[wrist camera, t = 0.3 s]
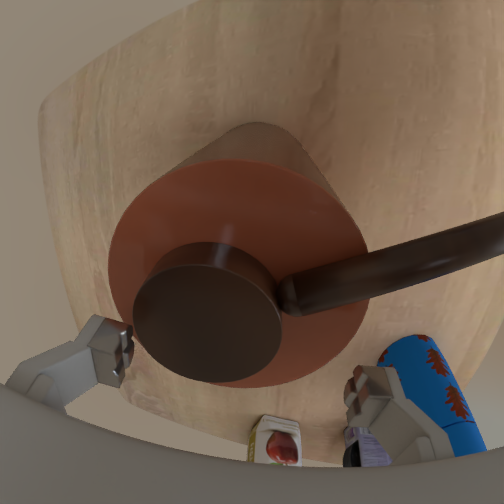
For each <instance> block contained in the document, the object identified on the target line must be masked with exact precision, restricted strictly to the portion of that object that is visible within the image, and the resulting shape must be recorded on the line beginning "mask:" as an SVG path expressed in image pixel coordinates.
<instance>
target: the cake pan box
mask: <svg viewBox="0 0 504 504" xmlns="http://www.w3.org/2000/svg"><path fill="white" fill-rule="evenodd" d="M344 437H345V446H346V450H345V453H344V456H343V467H374V466H388V465H389V464H390V463H391V462H392V461H393V460H392V459H391V458H390V456H389V455H388V454H387V453H386V451H385V450H384V449H383V447H382V446H381V445H380V443H379V442H378V441H377V439H376V438H375V437H374V435H373V434H372V433H371V432H370V430H369V429H368V428H367V427H347V428H346V429H345V430H344Z"/></svg>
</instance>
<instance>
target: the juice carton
mask: <svg viewBox="0 0 504 504" xmlns="http://www.w3.org/2000/svg"><path fill="white" fill-rule="evenodd" d="M246 461H247V462H255V463H264V464H274V465H287V466H302V453H301V435H300V430H299V424H298V422H295V421H290V420H285V419H280V418H276V417H273V416H269V415H264V416H263V417H262V418H261V419H260V421H259V422H258V423H257V424H256V426H255V427H254V428H253V429H252V431H251V433H250V436H249V439H248V448H247V460H246Z"/></svg>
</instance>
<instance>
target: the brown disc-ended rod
mask: <svg viewBox="0 0 504 504" xmlns="http://www.w3.org/2000/svg"><path fill="white" fill-rule="evenodd" d="M501 254H504V212H501V213H498V214H495V215H492V216H489V217H486V218H483V219H479V220H476V221H473V222H470V223H467V224H464V225H460V226H457V227H454V228H451V229H447V230H444V231H441V232H438V233H434V234H431V235H428V236H424V237H421V238H418V239H414V240H411V241H407V242H404V243H401V244H397V245H394V246H390V247H387V248H384V249H380V250H377V251H373V252H370V253H366V254H363V255H359V256H355V257H352V258H348V259H345V260H341V261H337V262H334V263H330V264H327V265H323V266H319V267H316V268H312V269H308V270H304V271H301V272H297V273H293V274H290V275H288V276H286V277H285V278H284V279H282V280H281V282H280V283H279V285H278V286H277V283H276V281H275V279H274V278H273V276H272V275H271V273H270V272H269V271H268V270H267V268H266V267H265V266H264V265H263V264H262V263H261V262H260V261H258V260H257V259H256V258H254V257H253V256H252V255H250V254H248V253H246V252H245V251H243V250H241V249H238V248H236V247H233V246H230V245H226V244H223V243H216V242H196V243H190V244H186V245H183V246H180V247H177V248H175V249H173V250H171V251H170V252H168V253H167V254H165V255H164V256H163V257H162V258H161V259H160V260H159V261H158V262H157V263H156V264H155V266H154V267H153V269H152V270H151V272H150V273H149V275H148V276H147V278H146V280H145V281H144V283H143V284H142V286H141V287H140V289H139V291H138V292H137V294H136V297H135V299H134V303H133V308H132V319H133V325H134V329H135V332H136V334H137V337H138V339H139V340H140V342H141V344H142V345H143V347H144V348H145V349H146V351H147V352H148V353H149V354H150V355H151V356H152V357H153V358H154V359H155V360H156V361H157V362H159V363H160V364H161V365H163V366H164V367H166V368H167V369H169V370H171V371H172V372H174V373H176V374H179V375H181V376H184V377H186V378H189V379H193V380H197V381H202V382H210V383H226V382H233V381H238V380H242V379H245V378H248V377H250V376H252V375H254V374H256V373H258V372H259V371H261V370H262V369H264V368H265V367H266V366H267V365H268V364H269V363H270V362H271V361H272V360H273V358H274V357H275V355H276V354H277V352H278V350H279V348H280V344H281V341H282V332H283V331H282V311H283V312H284V313H286V314H287V315H289V316H293V317H302V316H307V315H311V314H314V313H318V312H322V311H326V310H330V309H334V308H337V307H341V306H345V305H348V304H352V303H356V302H359V301H363V300H366V299H370V298H373V297H376V296H380V295H383V294H387V293H390V292H393V291H396V290H400V289H403V288H406V287H409V286H413V285H416V284H419V283H422V282H425V281H428V280H431V279H434V278H437V277H440V276H443V275H446V274H449V273H452V272H455V271H458V270H461V269H463V268H466V267H469V266H472V265H475V264H477V263H480V262H483V261H485V260H488V259H491V258H493V257H496V256H499V255H501Z"/></svg>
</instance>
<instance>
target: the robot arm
mask: <svg viewBox="0 0 504 504" xmlns="http://www.w3.org/2000/svg"><path fill="white" fill-rule="evenodd" d="M132 335H133V326H132V325H130V324H126V323H123V322H119V321H116V320H113V319H109V318H105V317H102V316H99V315H96V314H95V315H93V316H91V318H90V319H89V320H88V322H87V323H86V325H85V326H84V328H83V329H82V330H81V332H80V333H79V335H78V337H77V338H76V339H75V341H74V342H73V341H69V342H66V343H64V344H62V345H60V346H57V347H55V348H53V349H51V350H48V351H46V352H44V353H42V354H39V355H37V356H35V357H33V358H30V359H28V360H26V361H23V362H21V363H20V364H19V365H18V367H17V368H16V369H15V371H14V372H13V374H12V375H11V376H10V378H9V379H8V381H7V382H6V384H5V385H3V384H1V383H0V504H504V447H500V448H496V449H492V450H488V451H483V452H479V453H474V454H470V455H465V456H460V457H455V455H454V452H453V449H452V446H451V443H450V440H449V438H448V435H447V433H446V432H445V431H444V430H443V429H442V428H440V427H439V426H438V425H437V424H436V423H435V422H434V421H433V420H432V419H431V418H429V417H428V416H427V415H426V414H425V413H424V412H423V411H422V410H421V409H420V408H419V407H417V406H416V405H415V404H414V403H413V402H412V401H411V400H410V399H406V397H405V394H404V391H403V388H402V386H401V383H400V380H399V377H398V374H397V372H396V369H395V368H394V367H376V366H364V365H358V366H357V367H355V369H354V371H353V375H354V377H352V378H351V379H349V380H348V382H347V384H346V385H345V389H344V403H345V404H346V406H347V407H348V408H349V409H348V410H347V412H346V416H347V421H348V427H367V428H368V429H369V430H370V432H371V433H372V434H373V435H374V437H375V438H376V439H377V441H378V442H379V443H380V445H381V446H382V447H383V449H384V450H385V451H386V453H387V454H388V455H389V456H390V458H391V459H392V460H393V461H392V462H391V463H390V464H389V465H388V466H374V467H339V468H338V467H337V468H336V467H303V466H287V465H274V464H264V463H255V462H247V461H239V460H232V459H226V458H219V457H214V456H208V455H203V454H197V453H193V452H188V451H183V450H179V449H174V448H170V447H166V446H162V445H158V444H154V443H150V442H147V441H143V440H140V439H136V438H133V437H129V436H126V435H123V434H120V433H116V432H113V431H110V430H107V429H104V428H102V427H99V426H96V425H93V424H90V423H87V422H85V421H82V420H79V419H77V418H74V417H72V416H69V415H67V413H66V410H65V408H64V406H66V405H67V404H69V403H70V402H72V401H73V400H74V399H76V398H77V397H79V396H80V395H82V394H83V393H85V392H86V391H88V390H89V389H91V388H92V387H94V386H95V385H97V384H98V383H102V384H105V385H109V386H112V387H116V388H120V386H121V384H122V381H123V379H124V377H125V369H126V368H128V367H129V366H130V364H131V362H132V358H133V354H134V342H133V341H132V339H131V337H132Z"/></svg>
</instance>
